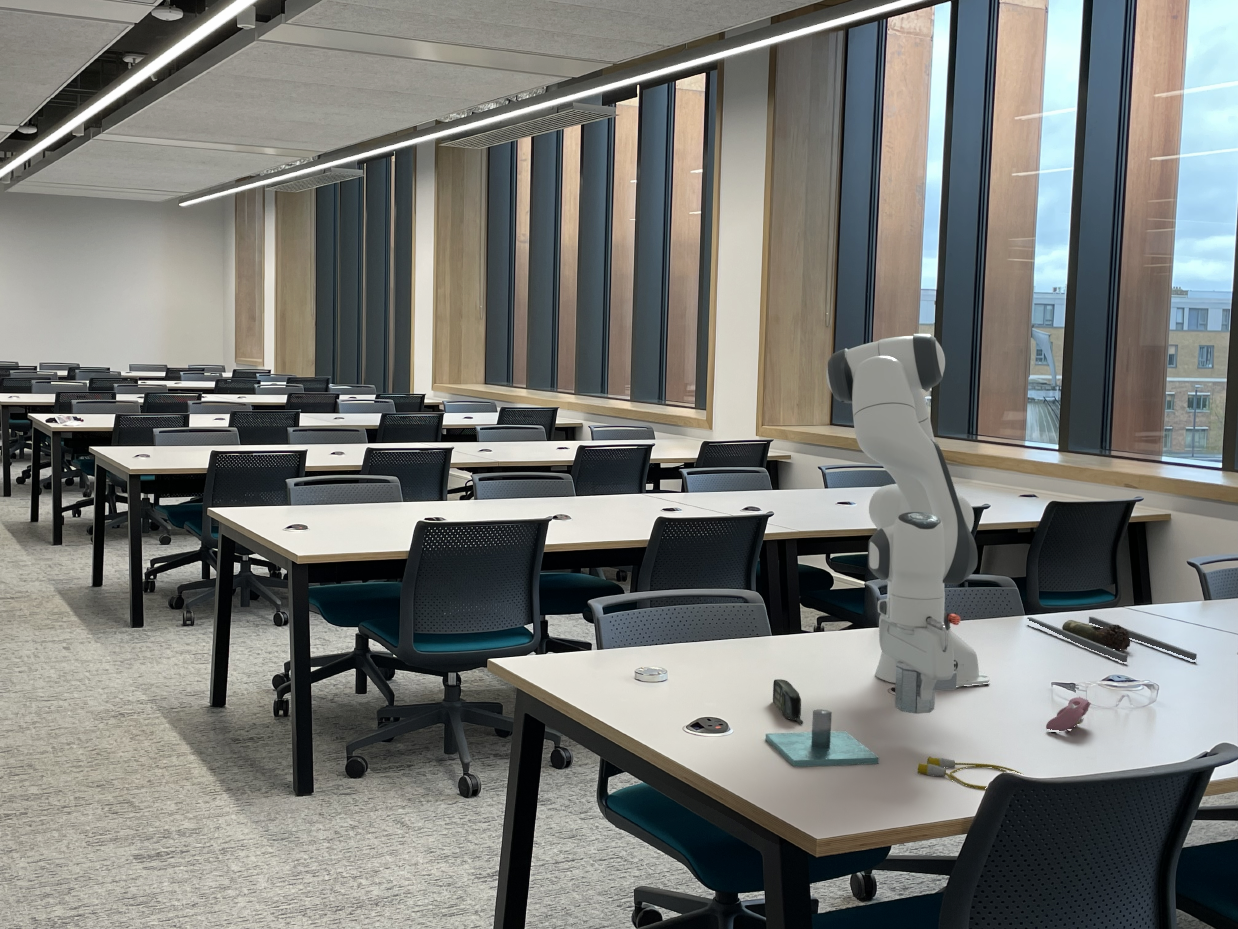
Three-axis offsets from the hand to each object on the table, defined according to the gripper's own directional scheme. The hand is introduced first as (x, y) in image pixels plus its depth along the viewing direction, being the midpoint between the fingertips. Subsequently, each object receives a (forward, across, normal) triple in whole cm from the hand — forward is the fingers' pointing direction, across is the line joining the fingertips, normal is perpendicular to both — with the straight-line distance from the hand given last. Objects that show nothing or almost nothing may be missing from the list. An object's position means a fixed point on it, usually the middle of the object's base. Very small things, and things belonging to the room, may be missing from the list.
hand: (914, 692), depth 207 cm
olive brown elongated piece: (+12, +64, -79) cm, 103 cm away
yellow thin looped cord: (+9, -18, -1) cm, 20 cm away
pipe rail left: (+11, +66, -74) cm, 99 cm away
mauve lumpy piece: (+10, +3, -31) cm, 33 cm away
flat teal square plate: (+8, -3, +18) cm, 20 cm away
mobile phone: (+8, +19, +15) cm, 25 cm away
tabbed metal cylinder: (+3, 0, -2) cm, 3 cm away
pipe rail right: (+11, +65, -91) cm, 112 cm away
